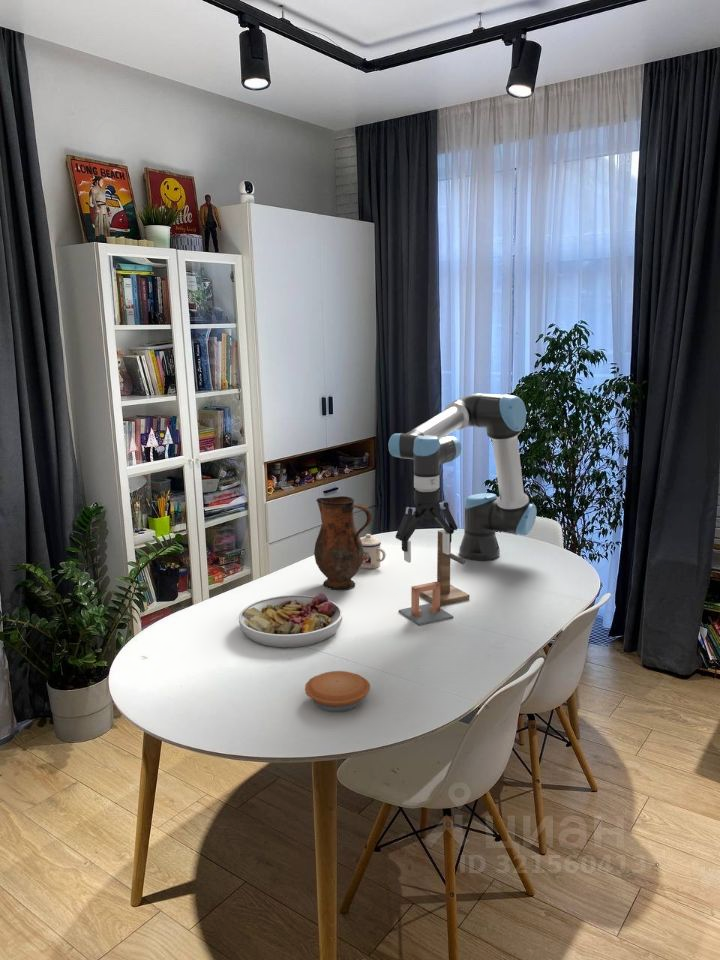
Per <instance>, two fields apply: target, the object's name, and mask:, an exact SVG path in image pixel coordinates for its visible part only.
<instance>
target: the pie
mask: <svg viewBox="0 0 720 960" xmlns="http://www.w3.org/2000/svg"><path fill="white" fill-rule="evenodd" d="M370 689H371V684H370V682H369V681H368V680H367V679H366V678H365V677H364V676H362V675H360V674H357V673H355V672H351V671H350V672H349V671H344V670H334V671H327V672H323V673H320V674H318V675H314V676H312V677H311V678H310V679H309V680H308V681H307V682H306V684H305V686H304V691H305V694H306V695H307V696H308V697H309V698H310V699H311V701H312V702H313V704H314V705H315V706H316V707H317V708H318V709H321V710H322V711H326V712H333V713H342V712H343V713H345V712H349V711H351V710H353V709H356V708H357V707H358V706H360V704H361V703H362V701H363V700H364V698H365V697H366V696H367V694H368V693H369V691H370Z"/></svg>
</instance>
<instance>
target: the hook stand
mask: <svg viewBox="0 0 720 960" xmlns="http://www.w3.org/2000/svg"><path fill="white" fill-rule="evenodd" d="M443 532H446V531H445V530H444V529H440V530H437V550H436V551H437V554H436V555H437V557H436V558H437V562H436V564H437V565H436V566H437V567H436V572H437V573H436V582H439V583H440V607H441V606H445V605H448V604H449V605H450V604H454V603H458V602H463V601H468V600H470V594H468V593H467V592H465V591H463V590H461V589H460V588H458V587H456V586H454V585H452V584H451V560H453V561H455V562H457V563H459V564H461V565H464V564H465V563H466V559H464V558H463V557H460V556H458V555H456V554H454V553H452V552H451V550H452V549H451V546H452V544H451V543H452V542H451V543H450V554H449V555H447V554H445V553H443ZM432 593H433V590H429V591H424V592H419V597H422V598H423V599H425V600H427V601H429V602H430V603H432Z"/></svg>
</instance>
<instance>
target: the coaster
mask: <svg viewBox="0 0 720 960" xmlns="http://www.w3.org/2000/svg"><path fill="white" fill-rule="evenodd" d="M430 606H432V602H430V603H425V604H419V609H420V610H422V615H421V616H416V617H414V616H413V615H411V607H406V608H401V609H398V612H399V613H400V614H401V615H403V616H404V617H406V618H407V619H409V620H410V621H412V622H413V623H414V624H417V626H423V625H428V624H432V623H436V622H441V621H446V620H450V619H453V618H454V615H453V614H451V613H450V612H448V611H446V610H444V609H443V608H441V607H440V611H439V612H435V613H433V612H431V611H430Z"/></svg>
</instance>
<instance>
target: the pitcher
mask: <svg viewBox="0 0 720 960" xmlns="http://www.w3.org/2000/svg"><path fill="white" fill-rule="evenodd" d="M316 502H317V505H318V509H319V512H320V518H321V519H320V520H321V526H320V530H319V532H318V536H317V538H316V541H315V545H314V549H313V550H314V552H313V555H314V560H315V565H316V566H317V567H318V569H319V571H320V572H321V573H322V574H323V575H324V576H325V577H326V579H325V580H324V581H323V586H324V587H325V588H327V589H329V590H332V591H348V590H351V589H354V588H355V587H356V582H355V581H354V580H352V578H353V577H354V576H356V575H357V573H358V572H359V570H360V566H361V564H362V562H363V556H364V549H363V545H362V541H361V537H360V533H362V531H363V530H365V528H367V527H368V526H369V525H370V524H371V521H372V513H371V511H370V509H369V508H368V507H367V506H365V505H363V504H360V503H358V504H356V503H355V499H354V498H352V497H349V496H343V495H341V496H333V497H332V496H331V497H319V498H317V499H316ZM354 503H355V504H354ZM354 508H357V509H360V510H361V511H363V512H364V513H365V515H366V522H365V523H364V524H363V526H362V527H361V528H360V529H358V530H357V527H356V524H355V518H354Z"/></svg>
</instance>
